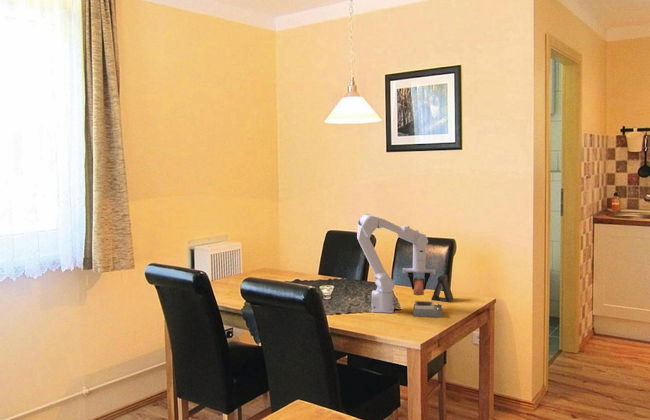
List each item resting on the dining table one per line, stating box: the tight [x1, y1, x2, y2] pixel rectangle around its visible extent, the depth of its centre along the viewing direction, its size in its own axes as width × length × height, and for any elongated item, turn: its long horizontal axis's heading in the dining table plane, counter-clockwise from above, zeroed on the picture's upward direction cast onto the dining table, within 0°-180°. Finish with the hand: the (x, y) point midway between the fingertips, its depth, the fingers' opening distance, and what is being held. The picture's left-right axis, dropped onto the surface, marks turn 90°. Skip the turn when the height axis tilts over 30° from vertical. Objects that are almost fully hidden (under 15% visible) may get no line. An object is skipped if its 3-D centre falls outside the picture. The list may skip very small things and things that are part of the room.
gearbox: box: [413, 300, 443, 318], centre depth 245 cm, size 12×9×4 cm
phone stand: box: [431, 273, 454, 303], centre depth 268 cm, size 9×6×12 cm, turn 60°
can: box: [413, 277, 425, 296], centre depth 254 cm, size 5×5×7 cm
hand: (418, 289), depth 254 cm, fingers closed on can, 5 cm apart
